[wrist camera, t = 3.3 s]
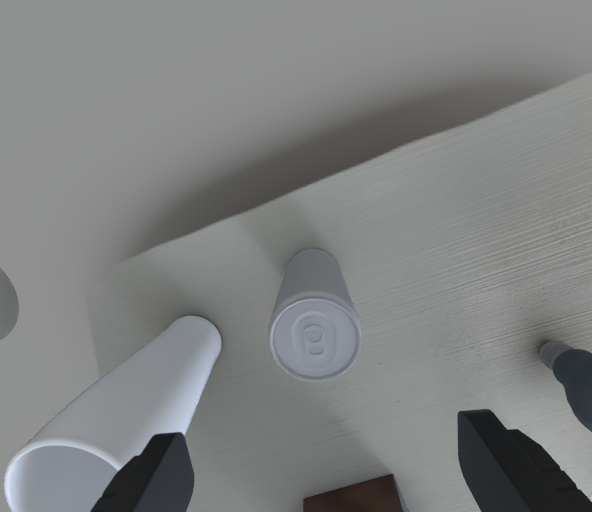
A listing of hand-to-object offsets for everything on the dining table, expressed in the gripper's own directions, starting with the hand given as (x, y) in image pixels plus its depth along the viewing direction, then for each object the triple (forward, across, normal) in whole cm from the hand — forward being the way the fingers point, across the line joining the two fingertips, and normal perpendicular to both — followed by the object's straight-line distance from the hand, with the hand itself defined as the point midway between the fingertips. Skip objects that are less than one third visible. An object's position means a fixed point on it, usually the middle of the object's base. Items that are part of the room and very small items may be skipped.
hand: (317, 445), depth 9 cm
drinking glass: (+18, +12, +5) cm, 22 cm away
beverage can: (+18, 0, 0) cm, 18 cm away
